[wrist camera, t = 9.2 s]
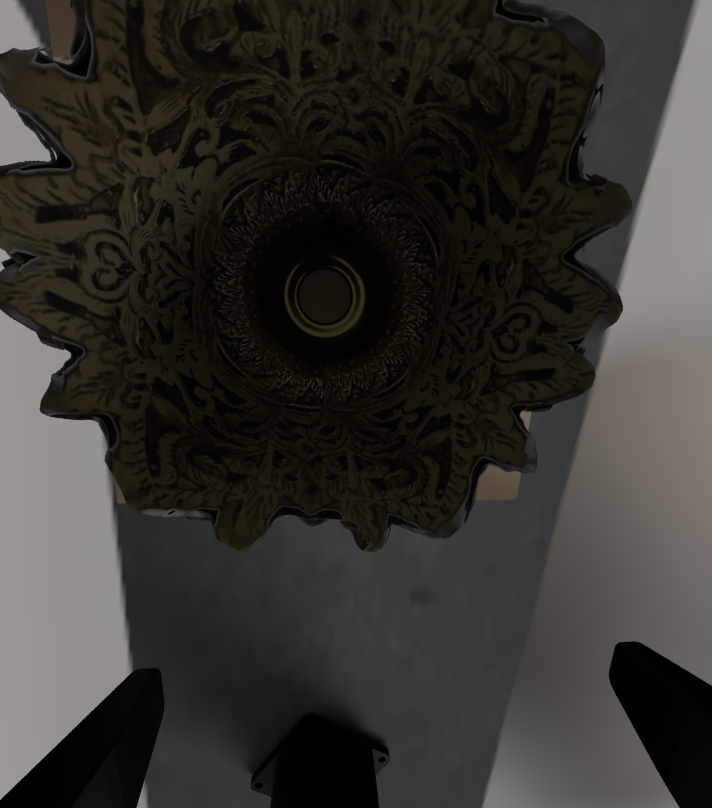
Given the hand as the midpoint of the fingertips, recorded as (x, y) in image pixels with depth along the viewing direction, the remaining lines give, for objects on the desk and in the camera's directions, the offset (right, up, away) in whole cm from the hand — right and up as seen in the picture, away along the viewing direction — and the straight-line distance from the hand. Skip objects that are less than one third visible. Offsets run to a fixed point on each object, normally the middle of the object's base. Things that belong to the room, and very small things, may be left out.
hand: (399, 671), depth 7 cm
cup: (-2, +9, +5) cm, 10 cm away
